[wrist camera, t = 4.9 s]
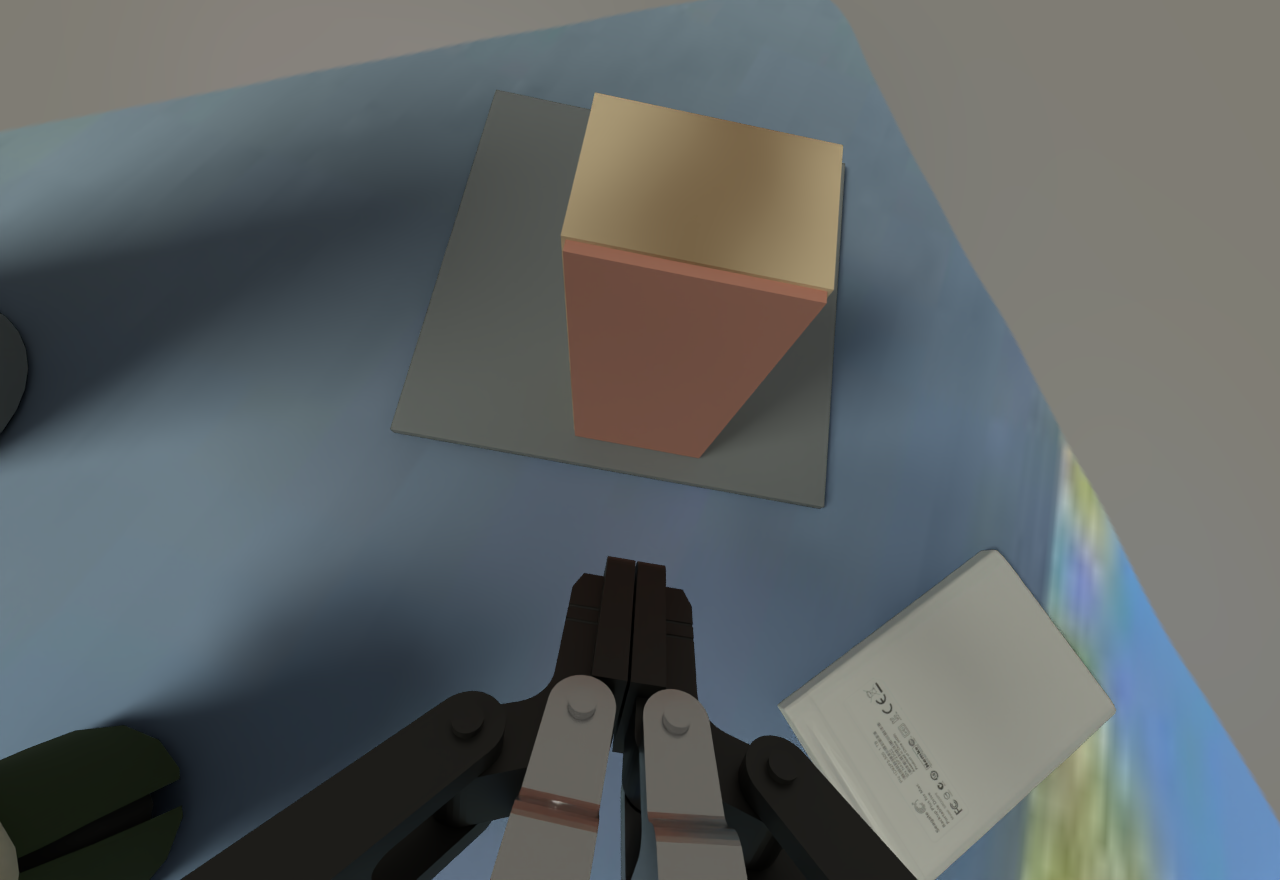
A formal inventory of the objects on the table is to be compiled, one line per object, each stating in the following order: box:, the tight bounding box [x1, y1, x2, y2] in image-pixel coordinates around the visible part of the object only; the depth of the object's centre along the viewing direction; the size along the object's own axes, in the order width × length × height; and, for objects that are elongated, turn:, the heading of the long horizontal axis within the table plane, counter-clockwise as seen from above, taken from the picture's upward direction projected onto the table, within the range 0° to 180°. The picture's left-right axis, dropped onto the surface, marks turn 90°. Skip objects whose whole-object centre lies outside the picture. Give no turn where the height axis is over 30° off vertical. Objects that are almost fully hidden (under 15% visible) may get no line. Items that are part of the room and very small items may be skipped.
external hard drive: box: [778, 550, 1116, 880], centre depth 23 cm, size 2×8×12 cm
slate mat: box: [390, 90, 845, 509], centre depth 28 cm, size 20×20×1 cm
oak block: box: [561, 93, 843, 458], centre depth 19 cm, size 6×4×14 cm
